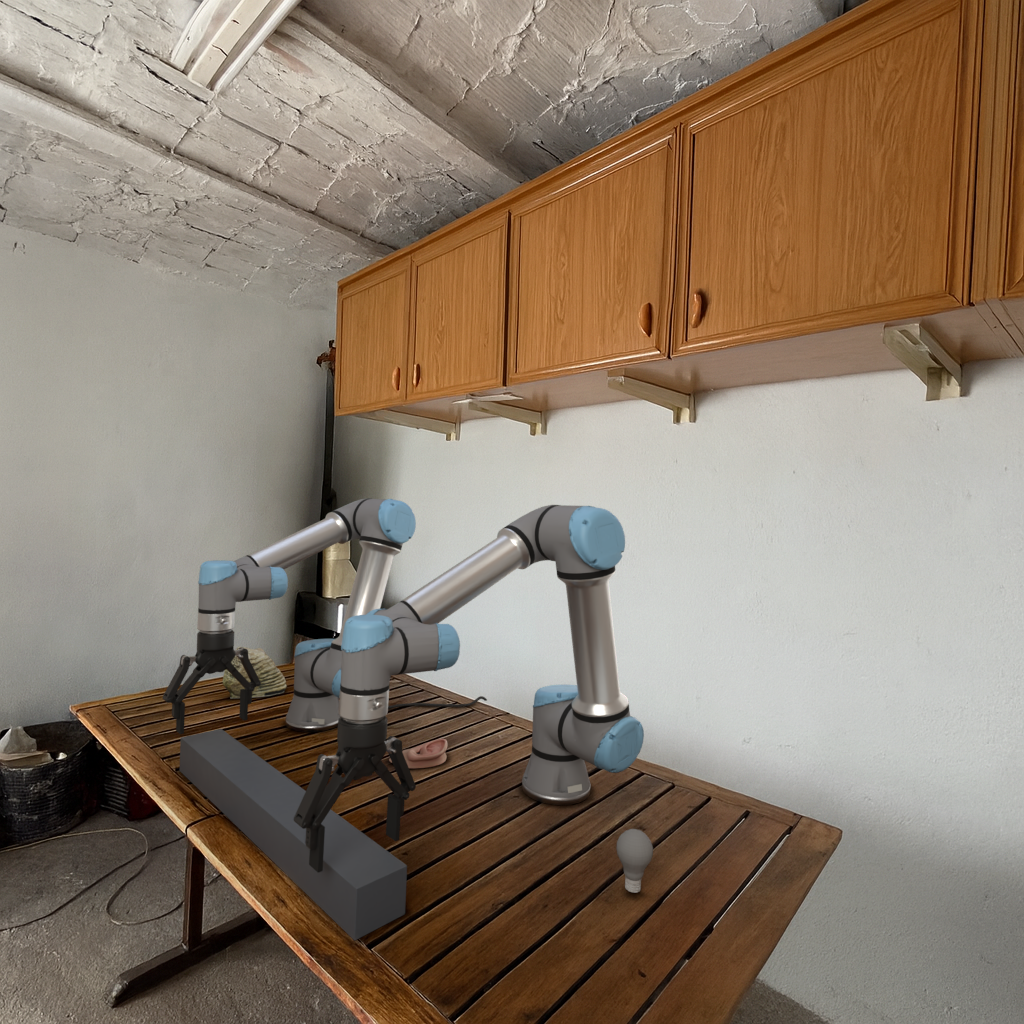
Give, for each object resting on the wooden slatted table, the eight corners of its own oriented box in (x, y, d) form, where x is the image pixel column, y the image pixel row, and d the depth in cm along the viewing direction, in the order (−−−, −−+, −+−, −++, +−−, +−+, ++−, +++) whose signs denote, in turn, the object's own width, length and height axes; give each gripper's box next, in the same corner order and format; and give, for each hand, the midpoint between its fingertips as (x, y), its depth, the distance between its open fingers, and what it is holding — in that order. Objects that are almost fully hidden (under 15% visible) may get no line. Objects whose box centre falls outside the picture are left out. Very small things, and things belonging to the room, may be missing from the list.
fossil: (218, 695, 195) (220, 647, 195) (278, 685, 208) (279, 640, 207) (228, 703, 189) (230, 653, 188) (289, 692, 201) (290, 645, 201)
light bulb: (610, 879, 108) (613, 822, 108) (644, 879, 109) (647, 822, 109) (619, 902, 102) (622, 840, 102) (655, 901, 103) (658, 840, 103)
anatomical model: (384, 748, 150) (402, 731, 161) (383, 765, 150) (401, 747, 161) (437, 755, 147) (452, 738, 159) (437, 772, 148) (451, 753, 159)
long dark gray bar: (179, 770, 143) (180, 737, 143) (219, 760, 149) (221, 728, 149) (354, 941, 91) (356, 888, 91) (405, 914, 97) (407, 865, 97)
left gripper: (159, 640, 129) (156, 743, 130) (277, 627, 147) (274, 717, 147) (148, 634, 135) (145, 733, 135) (263, 621, 152) (260, 709, 153)
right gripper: (299, 741, 87) (291, 894, 87) (441, 707, 105) (434, 834, 105) (274, 726, 92) (267, 870, 92) (413, 696, 110) (407, 817, 110)
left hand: (212, 725), depth 141 cm, fingers open, 13 cm apart
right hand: (355, 852), depth 99 cm, fingers open, 13 cm apart
